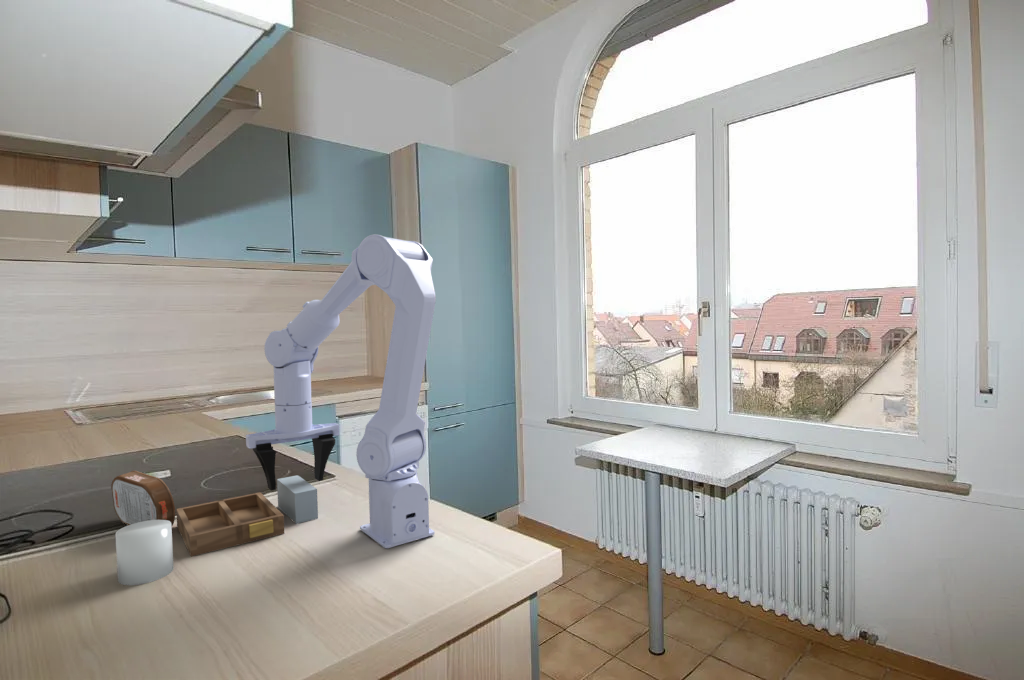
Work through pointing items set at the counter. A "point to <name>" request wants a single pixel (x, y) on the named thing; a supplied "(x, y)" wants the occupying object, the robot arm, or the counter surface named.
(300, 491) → the grey rectangular block
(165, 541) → the white rounded pillar
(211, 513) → the tray
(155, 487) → the tin
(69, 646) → the counter surface
